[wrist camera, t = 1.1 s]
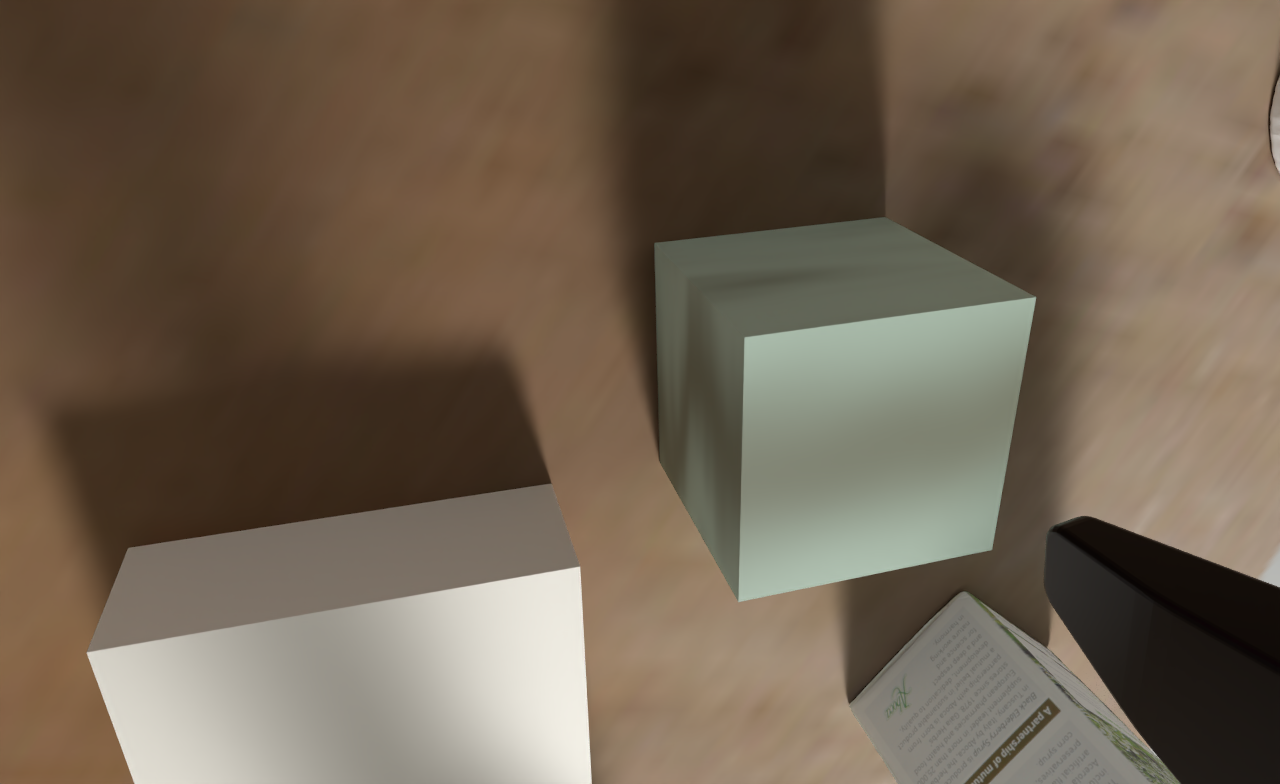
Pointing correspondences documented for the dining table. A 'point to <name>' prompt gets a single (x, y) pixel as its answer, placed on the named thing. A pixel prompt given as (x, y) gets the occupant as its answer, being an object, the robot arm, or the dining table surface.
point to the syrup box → (994, 711)
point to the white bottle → (1276, 125)
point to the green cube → (835, 399)
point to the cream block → (355, 650)
